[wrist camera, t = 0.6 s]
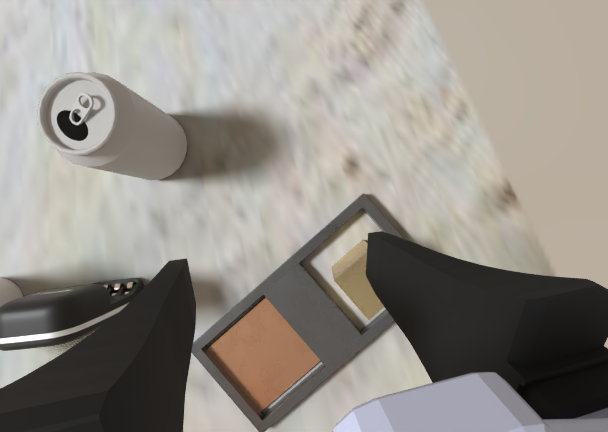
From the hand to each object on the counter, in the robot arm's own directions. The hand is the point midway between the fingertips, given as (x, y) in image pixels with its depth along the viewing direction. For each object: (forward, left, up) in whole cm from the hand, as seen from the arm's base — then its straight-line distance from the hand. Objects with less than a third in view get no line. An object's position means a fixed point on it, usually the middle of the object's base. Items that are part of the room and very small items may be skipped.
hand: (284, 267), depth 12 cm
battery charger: (+9, +20, -22) cm, 31 cm away
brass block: (-7, -2, -22) cm, 23 cm away
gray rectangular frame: (-7, +5, -22) cm, 23 cm away
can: (+18, +6, -22) cm, 29 cm away
